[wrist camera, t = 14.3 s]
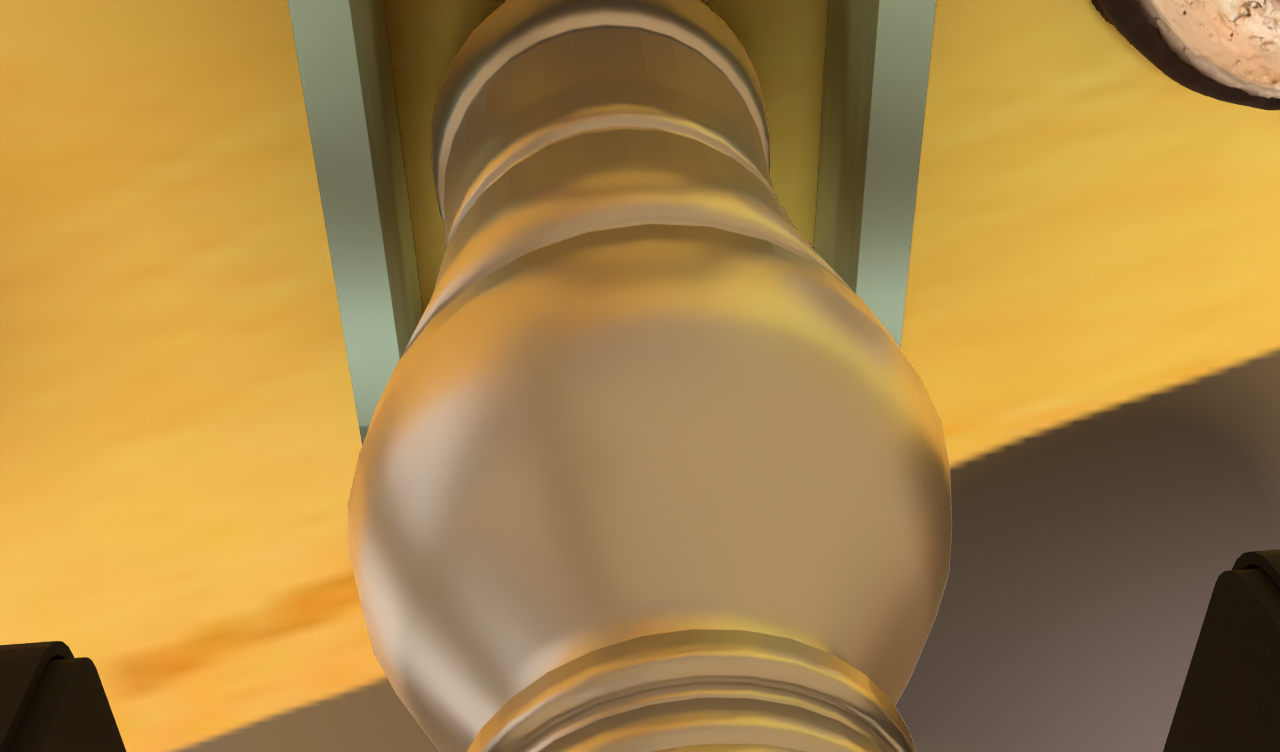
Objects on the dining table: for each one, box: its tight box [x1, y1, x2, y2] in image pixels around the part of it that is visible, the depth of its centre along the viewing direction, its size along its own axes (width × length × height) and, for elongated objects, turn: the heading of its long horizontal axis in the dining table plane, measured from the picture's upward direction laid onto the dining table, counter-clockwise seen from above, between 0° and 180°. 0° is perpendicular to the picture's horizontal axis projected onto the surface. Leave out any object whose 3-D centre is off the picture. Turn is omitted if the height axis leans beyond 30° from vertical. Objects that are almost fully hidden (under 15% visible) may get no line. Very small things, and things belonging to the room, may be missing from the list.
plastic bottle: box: [348, 0, 952, 752], centre depth 17 cm, size 6×7×20 cm
